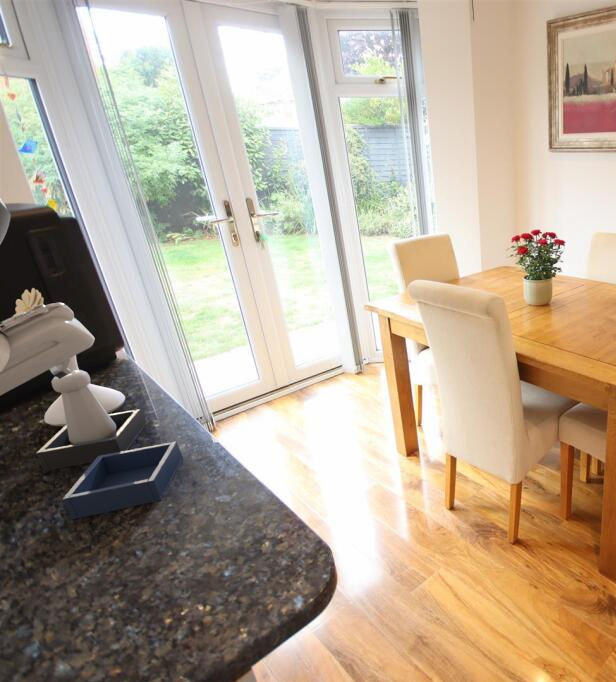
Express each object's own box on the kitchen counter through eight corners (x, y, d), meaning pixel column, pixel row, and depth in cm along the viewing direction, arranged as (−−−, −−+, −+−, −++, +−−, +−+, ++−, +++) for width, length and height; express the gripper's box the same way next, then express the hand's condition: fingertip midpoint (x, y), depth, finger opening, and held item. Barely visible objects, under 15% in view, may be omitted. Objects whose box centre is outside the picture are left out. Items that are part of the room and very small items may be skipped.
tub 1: (44, 471, 70) (35, 453, 69) (77, 437, 79) (70, 420, 77) (122, 456, 73) (115, 438, 72) (146, 425, 82) (140, 408, 80)
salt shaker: (69, 459, 72) (34, 385, 67) (83, 440, 77) (52, 370, 72) (114, 449, 74) (84, 377, 69) (126, 431, 79) (98, 363, 74)
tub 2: (71, 519, 60) (61, 499, 59) (106, 474, 69) (98, 455, 67) (161, 500, 63) (153, 480, 62) (183, 458, 72) (177, 441, 70)
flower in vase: (49, 415, 86) (-13, 286, 77) (125, 394, 93) (78, 273, 84) (46, 444, 77) (-24, 301, 68) (131, 418, 84) (79, 285, 75)
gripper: (40, 278, 52) (94, 330, 64) (-222, 394, 41) (-100, 431, 53) (77, 317, 52) (124, 362, 64) (-178, 444, 41) (-65, 470, 53)
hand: (20, 395), depth 58 cm, fingers open, 8 cm apart
